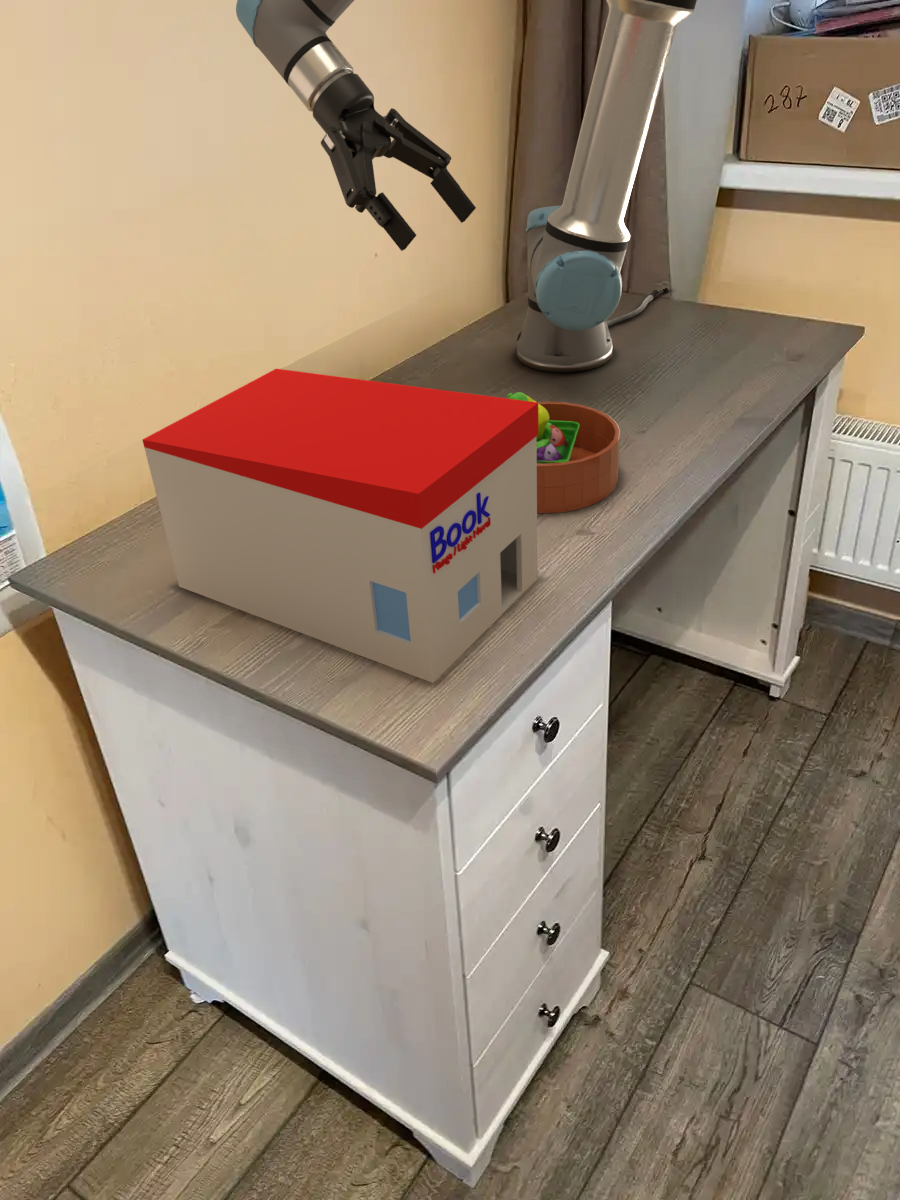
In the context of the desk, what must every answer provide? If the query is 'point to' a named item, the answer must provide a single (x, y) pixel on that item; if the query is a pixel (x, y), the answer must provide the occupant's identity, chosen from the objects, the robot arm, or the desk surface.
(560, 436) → the fruit basket
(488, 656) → the desk surface
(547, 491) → the pot
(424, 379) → the desk surface
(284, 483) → the bookstore
